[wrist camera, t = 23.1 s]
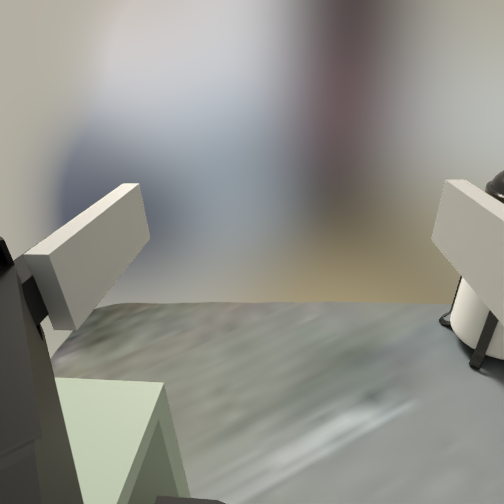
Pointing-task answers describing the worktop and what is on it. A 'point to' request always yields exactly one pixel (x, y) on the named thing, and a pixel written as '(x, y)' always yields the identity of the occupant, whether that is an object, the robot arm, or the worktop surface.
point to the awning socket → (122, 440)
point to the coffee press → (478, 308)
